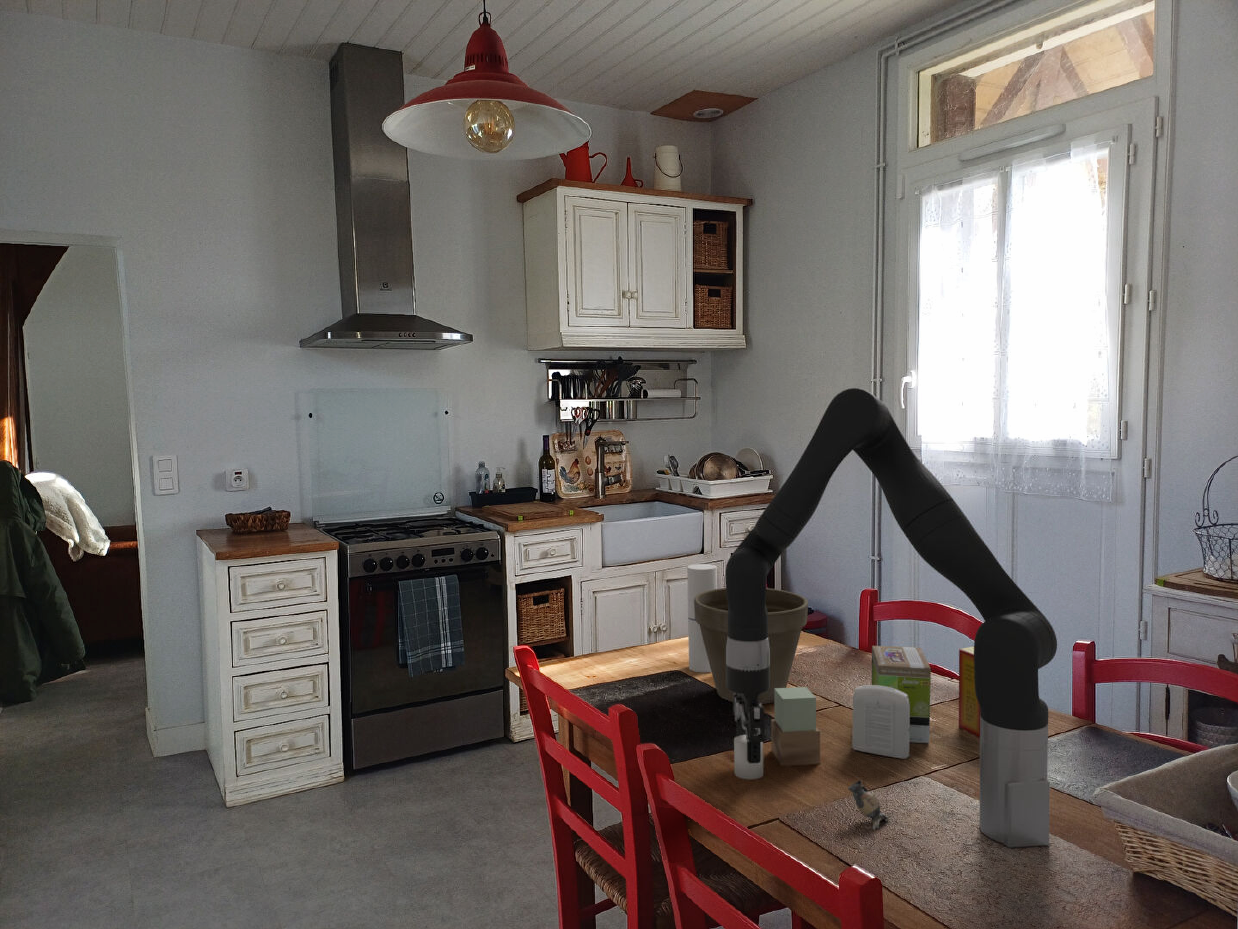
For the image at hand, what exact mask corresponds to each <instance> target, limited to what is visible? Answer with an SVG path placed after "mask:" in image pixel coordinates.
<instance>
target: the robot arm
mask: <svg viewBox="0 0 1238 929" xmlns="http://www.w3.org/2000/svg"><path fill="white" fill-rule="evenodd" d="M894 419H895V418H894V417H893V416H892V414H891V412H890V410H889V408H888V407H887V405H886V404H885V403H884V402H883V401H882V400H881V399H879V398H878V397H877V396H875V395H874V394H873V393H871V392H870V391H868V390H866V389H863V388H859V387H852V388H851V387H850V388H847V389H845V390H842V391H840V392H839V393H837V394H836V395H835V396H834V397H833V399H832V400H830V402H829V404H828V405H827V408H826V410H825V412H824V413H823V416H822V417H821V419H820V421H819V423H818V426H816V429H815V431H814V434H813V435H812V437H811V439H810V441H809V442H808V444H807V446H806V448H805V450H804V451H803V453H802V455H801V457H800V458H799V460H798V461H797V463H796V465H795V467H794V468H793V470H792V471H791V473H790V474H789V476H788V477H787V479H786V480H785V482H784V483H783V484H782V486H781V487H780V489H779V490H778V491H777V493H776V494H775V495H774V497H773V498H772V499H771V501H770V502H769V503H768V505H767V506H766V508H765V509H764V511H763V512H762V513H761V515H760V516H759V518H758V520H757V521H756V523H755V525H754V527H753V528H752V529H751V530H750V532H748V534H746V536H745V537H744V538H743V540H742V541H741V542H740V543H739V545H738V546H737V547H736V549H735V550H734V551H733V552H732V554H731V556H730V557H729V558H728V561H727V562H726V566H725V573H724V574H725V578H724V579H725V588H726V593H727V602H728V618H727V621H728V636H727V646H726V686H727V688H728V689H729V690H730V691H732V692H733V702H732V714H733V715H734V716H735V717H734V721H735V722H736V737H737V736H740V735H746V740H747V761H748V762H749V763H759V762H760V761H761V742H763V743H765V740H766V737H765V736H766V735H765V707H764V706H763V704H761V701H759V698H758V695H759V694H761V693H764V692H766V691H767V690H768V689H769V688H770V648H769V641H768V612H767V608H766V588H767V582H768V578H767V577H768V574H769V573H770V571H771V569H772V568H773V566H774V565H775V564H776V562H778V559H779V558H780V557H781V555H782V553H783V552H784V551H785V549H787V548H789V547H790V546H791V544H793V543H794V541H795V540H796V539H797V538H798V536H799V535H800V533H801V532H802V531H803V530H804V528H805V527H806V525H807V524H808V522H809V521H810V520H811V518H812V516H814V513H815V512H816V510H817V508H818V506H819V504H820V502H821V500H822V497H823V496H824V494H825V492H826V488H827V487H828V484H829V483H830V480H831V478H832V477H833V475H834V473H835V472H836V470H838V467H839V466H840V465H841V463H842V462H843V461H844V460H845V458H847V456H848V455H850V453H851V452H852V451H853V452H854V453H855V454H856V455H857V456H858V457H859V458H860V460H862V462H863V463H864V465H865V466H866V467H867V468H868V469H869V471H870V472H871V473H872V474H873V476H874V477H875V479H876V481H877V482H878V483H879V486H880V487H881V489H882V492H883V494H884V497H885V499H886V502H887V504H888V506H889V508H890V511H891V513H892V516H893V517H894V519H895V521H896V523H897V525H898V526H899V528H900V530H901V531H902V532H903V534H904V536H905V537H906V538H907V540H908V542H909V543H910V545H911V546H912V547H913V549H914V550H915V551H916V552H917V554H918V555H919V556H920V557H921V559H922V560H923V561H925V563H926V564H928V565H929V566H930V567H931V568H932V569H934V571H936V572H938V573H939V574H940V575H941V576H942V577H944V578H945V579H946V580H948V581H949V582H951V583H952V584H953V585H954V586H956V588H958V589H959V590H961V592H962V593H964V594H965V596H966V597H967V598H968V599H969V600H970V602H972V604H973V605H974V606H975V608H976V610H977V611H978V612H979V614H980V615H981V617H982V619H983V620H984V622H982V623H981V624H980V625H979V627H978V629H977V631H976V633H975V637H974V642H973V647H974V677H975V693H976V697H977V700H978V703H979V705H980V738H979V829H980V831H981V832H982V834H984V835H985V836H987V838H989V839H991V840H993V841H995V842H999V843H1001V844H1004V845H1005V846H1006V847H1007V848H1023V847H1025V848H1026V847H1039V846H1049V845H1050V798H1051V797H1050V788H1051V786H1050V784H1051V783H1050V781H1049V780H1048V754H1049V753H1048V751H1049V749H1048V748H1049V747H1048V745H1049V707H1048V705H1047V702H1045V701H1044V700H1043V699H1042V698H1040V692H1039V691H1040V690H1039V688H1040V687H1039V670H1040V669H1042V668H1044V667H1045V666H1047V665H1048V664H1049V663H1051V661H1053V659H1054V658H1055V656H1056V654H1057V650H1058V640H1057V635H1056V633H1055V630H1054V628H1053V626H1052V624H1051V622H1050V621H1049V620H1048V619H1047V617H1046V616H1045V615H1044V614H1043V613H1042V611H1041V610H1040V609H1039V608H1038V607H1037V605H1035V604H1034V603H1033V601H1032V600H1031V599H1030V598H1029V596H1027V595H1026V593H1025V592H1023V590H1022V589H1021V588H1020V587H1019V586H1018V585H1017V584H1016V582H1015V581H1014V580H1013V579H1012V578H1011V577H1010V576H1009V574H1008V573H1007V572H1006V570H1005V569H1004V567H1003V566H1002V565H1001V564H1000V563H999V560H998V559H997V558H996V557H995V555H994V554H993V552H992V551H991V549H990V548H989V547H988V545H987V544H986V542H984V540H983V539H982V537H981V536H980V535H979V533H978V532H977V530H976V529H975V527H974V526H973V525H972V523H971V521H970V520H969V519H968V517H967V516H966V514H965V513H964V512H963V510H962V509H961V508H960V506H959V505H958V504H957V502H956V501H955V500H954V498H953V497H952V495H951V494H950V493H949V492H948V491H947V489H946V488H945V487H944V486H943V485H942V484H941V482H940V481H939V480H938V479H937V478H936V476H934V474H933V473H932V472H931V471H930V469H928V468H927V467H926V466H925V464H923V463H922V462H921V460H920V459H919V458H918V456H917V455H916V454H915V453H914V451H913V450H912V449H911V446H910V445H909V443H908V442H907V440H906V439H905V437H904V436H903V433H902V432H901V431H900V428H899V426H898V424H897V423H896V421H895V420H894ZM754 730H756V734H754Z"/></svg>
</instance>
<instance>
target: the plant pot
mask: <svg viewBox="0 0 1238 929" xmlns="http://www.w3.org/2000/svg"><path fill="white" fill-rule="evenodd" d="M808 607H809V601H808V599H807V598H806V597H804V596H802V595H800V594H798V593H794V592H792V591H791V592H790V591H788V590H787V591H786V590H782V589H777V588H769V587H766V608H767V612H768V641H769V648H770V688H769V689H768V690H767V691H766V692H764V693H761V694H759V695H758V698H759V701H761V704H762V705H766V704H767V705H769V704H772V703H775V699H774V688H787V687H788V682H789V678H790V675H791V671H792V668H793V664H794V659H795V656H796V652H797V649H798V645H799V641H800V637H801V632H802V629H803V628H804V627H805V626H806V625H807V622H808V613H809V612H808V610H809V609H808ZM694 609H695V620H696V622H697V623H698V624H699V625H700V629H701V633H702V637H703V641H704V645H705V649H706V653H707V656H708V660H709V664H710V668H711V672H710V673H711V675H712V680H713V683H714V686H715V689H716V692H717V694H718V696H719V697H720V698H722V699H723V700H725V701H727V700H728V702H731V703H733V692H732V691H730V690H729V689H728V688H727V686H726V646H727V636H728V621H727V618H728V602H727V593H726V587H722V588H720V587H719V588H717V589H713V590H708V591H705V592H702V593H700V594H698V595H696V597H695V598H694Z"/></svg>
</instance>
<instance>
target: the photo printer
mask: <svg viewBox="0 0 1238 929" xmlns="http://www.w3.org/2000/svg"><path fill="white" fill-rule="evenodd" d="M909 728H910V704H909V699H908V695H907V694H905V693H904V692H901V691H899V690H896V689H894V688H890V687H886V686H879V685H872V684H868V685H867V684H866V685H859V686H856V688H854V692H853V696H852V737H851V738H852V743H851V744H852V747H851V748H852V749H853V750H855V751H859V752H862V753H869V754H874V755H879V756H880V755H881V756H885V757H891V758H897V759H902V760H903V759H905V760H906V759H907V758H909V756H910V742H909Z"/></svg>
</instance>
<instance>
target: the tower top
mask: <svg viewBox="0 0 1238 929" xmlns="http://www.w3.org/2000/svg"><path fill="white" fill-rule="evenodd" d="M774 699H775V702H774V719H775V721H776V723H777V724H778V726H779V727H780V728H781V730H782V731H783V732H794V731H814V730H816V727H817V697H816V695H814V693H813V692H812V691H811V690H810V689H809V688H808V687H807V686H801V687H800V686H799V687H797V686H796V687H786V688H774Z"/></svg>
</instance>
